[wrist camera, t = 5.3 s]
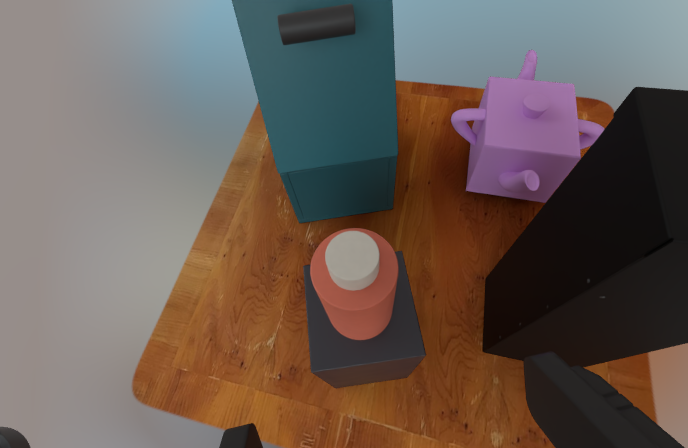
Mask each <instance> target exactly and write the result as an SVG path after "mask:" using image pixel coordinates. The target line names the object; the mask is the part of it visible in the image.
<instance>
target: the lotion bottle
mask: <svg viewBox="0 0 688 448" xmlns="http://www.w3.org/2000/svg"><path fill="white" fill-rule="evenodd" d="M310 274H311V280H312V283H313V286H314V288H315V290H316V292H317V294H318V296H319V298H320V300H321V302H322V304H323V307H324V309H325V311H326V313H327V315H328V317H329V319H330V321H331V323H332V325H333V326H334V328H335V329H336V330H337V331H338V332H339V333H340V334H342V335H343V336H345V337H347V338H350V339H354V340H366V339H370V338H373V337H375V336H377V335H378V334H380V333H381V332H382V331H383V330H384V329H385V328H386V327H387V325H388V323H389V321H390V319H391V316H392V310H393V304H394V298H395V291H396V285H397V278H398V260H397V257H396V254H395V252H394V250H393V248H392V247H391V245H390V244H389V243H388V242H387V241H386V240H385V239H384V238H383V237H381V236H380V235H378V234H377V233H375V232H372V231H370V230H366V229H361V228H349V229H344V230H341V231H338V232H335V233H333V234H332V235H330V236H328V237H327V238H326V239H325V240H324V241H323V242H322V243H321V244H320V245H319V246H318V248H317V249H316V251H315V253H314V255H313V257H312V261H311V267H310Z"/></svg>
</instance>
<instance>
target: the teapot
mask: <svg viewBox="0 0 688 448" xmlns="http://www.w3.org/2000/svg"><path fill="white" fill-rule="evenodd" d="M536 64H537V54H536V52H535V51H534V50H529V51H528V52H527V54H526V57H525V61H524V65H523V68H522V70H521V73H520V75H519V77H518V78H517V79H512V78H500V77H489V79H488V82H487V85H486V88H485V91H484V94H483V97H482V100H481V103H480V106H479V109H461V110H458V111H456V112H454V113H453V115H452V117H451V122H452V125H453V127H454V128H455V130H456V131H457V132H458V133H459V134H460V135H461V136H462V137H463V138H465V139H466V140H467V141H468V142H470V143H471V145H470V155H469V165H468V175H467V185H466V191H471V192H477V193H484V194H491V195H497V196H504V197H511V198H517V199H524V200H531V201H537V202H544V203H546V201H547V200H548V199H549V198H550V196H551V195H552V194H553V192H554V191H555V190H556V189H557V187H558V186H559V185H560V184H561V182H562V181H563V180H564V179H565V177H566V176H567V175H568V174H569V172H570V171H571V170H572V169H573V167H574V166H575V165H576V164H577V162H578V161H579V160H580V159H581V156H580V149H584V148H586V147H589V146H591V145H593V143H594V142H595V141H596V140H597V138H598V137H599V136H600V135H601V133H602V132H603V131H604V130H605V129H604V128H603V127H602V126H601V125H599V124H597V123H594V122H590V121H586V120H581V119H578V117H577V107H576V97H575V89H574V84H567V83H556V82H545V81H535V80H534V76H535V70H536ZM470 120H475V121H474V124H473V127H472V130H471V128H470V127H469V126H468V124H467V122H466V121H470ZM579 132H582V133H584V134H582V135H580V136H579Z"/></svg>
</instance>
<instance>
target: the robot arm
mask: <svg viewBox="0 0 688 448" xmlns="http://www.w3.org/2000/svg"><path fill="white" fill-rule="evenodd" d="M524 375H525V388H526V400H527V404H528V407H529V410H530V412H531V414H532V416H533V418H534V420H535V421H536V423H537V424H538V426H539V427H540V428H541V429H542V431H543V432H544V433H545V435H546V436H547V437H548V438H549V440H550V441H551V442H552V444H553V445H554V446H555V447H556V448H684V447H683V446H682V445H681V444H680V443H678V442H677V441H676V440H675V439H674V438H673V437H671V436H670V435H669V434H668V433H667V432H665V431H664V430H663V429H662V428H661V427H660V426H658V425H657V424H656V423H655V422H654V421H652V420H651V419H650V418H649V417H648V416H647V415H645V414H644V413H643V412H642V411H641V410H639V409H638V408H637V407H634V406H633V404H632V403H631V402H630V401H629V400H628V399H626V398H625V397H624V396H623V395H622V394H619V393H618V391H617V390H616V389H615V388H613V387H612V386H611V385H610V384H609V383H607V382H606V381H605V380H604V379H603V378H602V377H600V376H599V375H597V374H595V373H593V372H591V371H589V370H587V369H585V368H583V367H581V366H579V365H577V366H573V367H570V366H569V365H568V364H567V363H566V362H565V361H564V360H562V359H561V358H560V357H559V356H558V355H557V354H556V353H554V352H552V351H549V352H545V353H541V354H537V355H533V356H529V357H525V358H524ZM219 448H263V446H262V444H261V441H260V438H259V435H258V432H257V429H256V427H255V425H254V424H253V423H251V424H247V425H243V426H239V427H235V428H230V429H227V430H226V431H225V432H224V434H223V437H222V441H221V444H220V447H219Z"/></svg>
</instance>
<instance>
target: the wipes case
mask: <svg viewBox="0 0 688 448" xmlns="http://www.w3.org/2000/svg"><path fill="white" fill-rule="evenodd" d="M396 164H397V155H396V156H389V157H382V158H376V159H369V160H363V161H356V162H350V163H343V164H337V165H330V166H324V167H317V168H311V169H304V170H298V171H291V172H285V173H280V176H281V179H282V181H283V184H284V186H285V189H286V191H287V194H288V196H289V199H290V201H291V204H292V206H293V209H294V211H295V214H296V216H297V219H298V221H299V223H304V222H310V221H317V220H324V219H330V218H337V217H343V216H350V215H356V214H363V213H370V212H376V211H383V210H389V209H393V201H394V189H395V176H396Z"/></svg>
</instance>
